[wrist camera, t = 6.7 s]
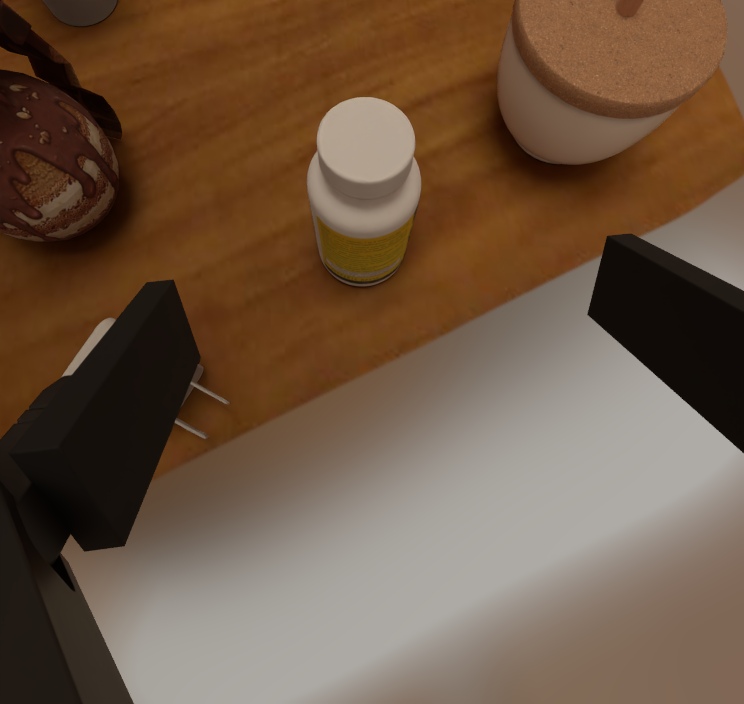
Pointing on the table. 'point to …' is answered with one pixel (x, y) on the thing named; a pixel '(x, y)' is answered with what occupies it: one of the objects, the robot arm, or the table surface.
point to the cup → (81, 10)
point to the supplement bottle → (363, 190)
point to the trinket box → (602, 71)
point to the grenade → (51, 144)
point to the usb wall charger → (96, 337)
